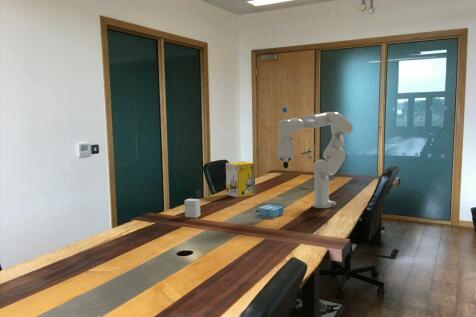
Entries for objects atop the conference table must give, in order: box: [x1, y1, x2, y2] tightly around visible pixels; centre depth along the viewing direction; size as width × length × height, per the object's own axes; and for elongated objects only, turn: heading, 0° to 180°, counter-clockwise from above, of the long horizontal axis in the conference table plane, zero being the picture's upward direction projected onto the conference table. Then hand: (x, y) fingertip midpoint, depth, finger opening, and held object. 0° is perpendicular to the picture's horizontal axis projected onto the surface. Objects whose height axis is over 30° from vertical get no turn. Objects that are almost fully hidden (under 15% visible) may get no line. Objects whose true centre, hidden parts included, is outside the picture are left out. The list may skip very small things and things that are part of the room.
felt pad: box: [252, 212, 276, 220], centre depth 246 cm, size 13×14×1 cm
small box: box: [183, 198, 201, 218], centre depth 246 cm, size 8×6×10 cm
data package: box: [258, 204, 284, 217], centre depth 248 cm, size 12×4×12 cm
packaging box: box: [225, 160, 256, 199], centre depth 310 cm, size 16×16×25 cm
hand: (285, 168), depth 253 cm, fingers closed
